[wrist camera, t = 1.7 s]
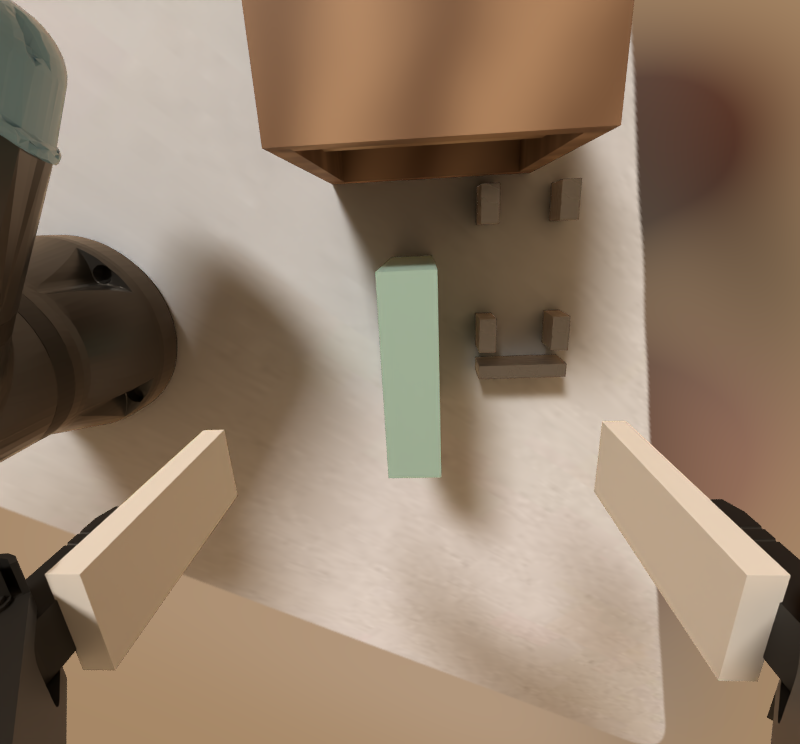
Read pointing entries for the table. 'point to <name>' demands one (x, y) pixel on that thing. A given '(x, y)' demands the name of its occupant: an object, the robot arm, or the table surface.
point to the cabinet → (434, 83)
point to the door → (410, 365)
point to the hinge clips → (554, 321)
